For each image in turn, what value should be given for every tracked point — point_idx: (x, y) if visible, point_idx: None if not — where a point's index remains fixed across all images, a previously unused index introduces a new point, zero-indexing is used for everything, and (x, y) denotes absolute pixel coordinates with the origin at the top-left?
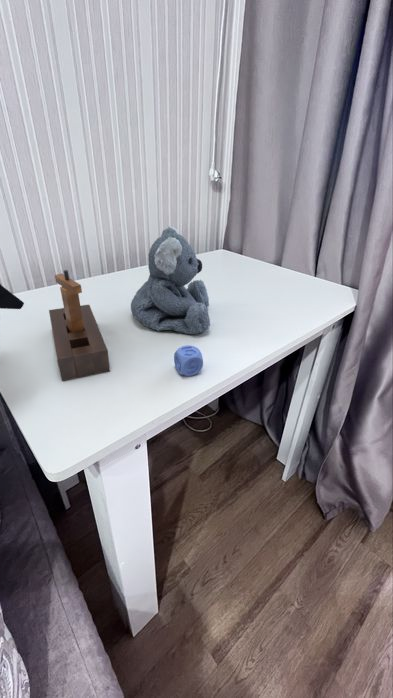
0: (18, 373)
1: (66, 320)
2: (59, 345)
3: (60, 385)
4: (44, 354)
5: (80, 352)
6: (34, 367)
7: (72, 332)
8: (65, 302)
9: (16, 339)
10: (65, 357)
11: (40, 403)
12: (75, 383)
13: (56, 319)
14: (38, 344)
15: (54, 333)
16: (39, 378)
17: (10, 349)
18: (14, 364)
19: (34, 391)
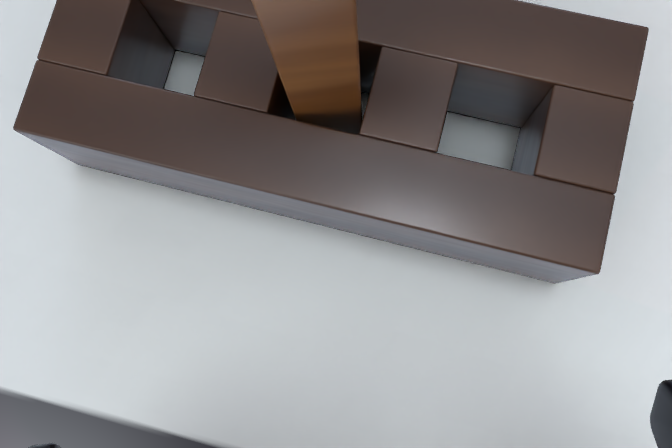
0: (380, 427)
1: (291, 95)
2: (467, 217)
3: (579, 299)
4: (289, 277)
5: (599, 150)
6: (373, 351)
7: (350, 109)
8: (316, 26)
9: (65, 349)
10: (607, 232)
11: None
12: None
13: (161, 132)
14: (180, 272)
15: (319, 195)
16: (475, 359)
17: (145, 401)
18: (293, 422)
19: (560, 408)
